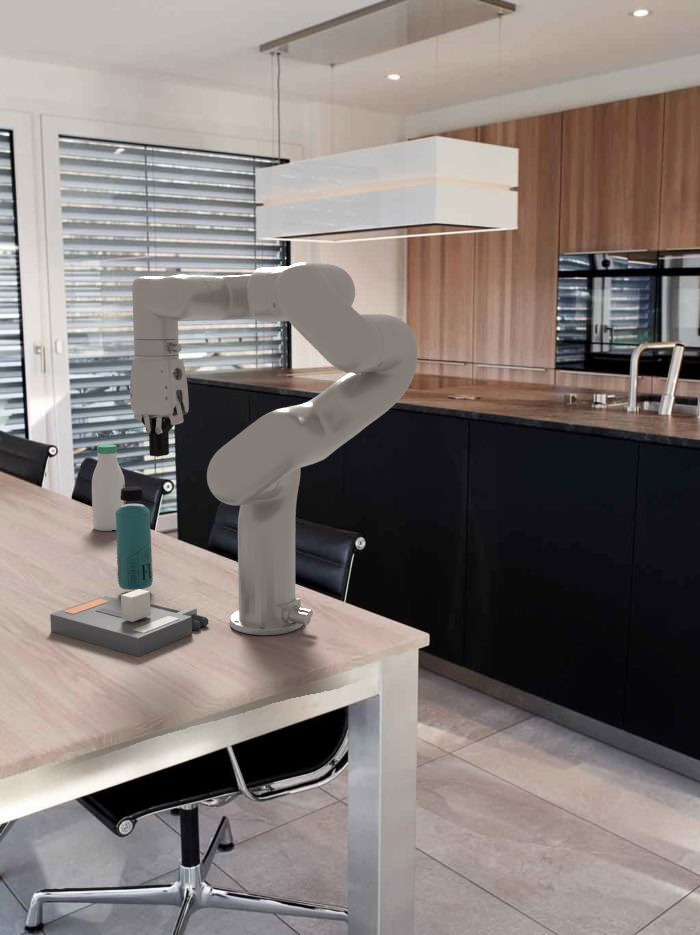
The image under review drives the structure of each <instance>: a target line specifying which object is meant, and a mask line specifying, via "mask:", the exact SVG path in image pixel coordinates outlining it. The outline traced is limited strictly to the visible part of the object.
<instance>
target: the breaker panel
mask: <svg viewBox="0 0 700 935" xmlns="http://www.w3.org/2000/svg"><path fill="white" fill-rule="evenodd" d="M150 611H151V615H150V616H147V617H144V618H142V619H139V620H136V621H134V622H131V621H127V620H123V619H122V609H121V598H116V597H114V596H110V595H109V596H108V595H103V596H101V597H98V598H94V599H91V600H87V601H86V602H83V603H79V604H76V605H73V606H71V607H68V608H65V609H61V610H58V611H56V612H52V613H50V614H49V617H50V618H49V620H50V632H51V633H55V634H57V635H62V636H65V637H69V638H72V639H76V640H79V641H81V642H82V641H83V642H86V643H90V644H93V645H95V646H96V645H97V646H99V647H104V648H106V649H110V650H114V651H118V652H120V653H121V652H122V653H124V654H127V655H128V654H129V655H131V656H135V657H139V658H140V657H141V655H142V656H144V655H146V654H149V653H151V652H153V651H155V650H156V651H157V650H159V649H160V648H162V647H165V646H168V645H169V644H173V643H175V642H176V641H180V640H181V639H184V638H187V637H190V636H191V635H193V629H192V617H191V616H187V615H183V614H179V613H174V612H170V611H166V610H162V609H158V608H154V607H150Z"/></svg>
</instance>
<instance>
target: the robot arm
mask: <svg viewBox="0 0 700 935" xmlns="http://www.w3.org/2000/svg"><path fill="white" fill-rule="evenodd" d="M131 292H132V293H131V294H132V322H133V326H132V327H133V352H134V353H133V355H134V357H132V362H131V369H130V376H129V377H130V379H129V383H130V384H129V402H130V403H129V404H130V407H131V408H130V409H131V410H132V413H133V419H135V420H136V421H138V422H140V423H142V424H143V426H144V427H145V432H146V433H147V434H148V440H149V444H148V445H149V446H148V447H149V448H148V449H149V456H150V457H164V456H168V455H169V454H170V442H169V441H170V440H169V439H170V434H169V433H171V432H172V431H173V430H172V429H173V427H174V426H175V425H179V424H182V423H184V415H187V414H188V412H189V409H190V407H189V406H190V405H189V390H188V389H189V388H188V379H187V373H186V367H185V363H184V361H183V360H184V359H183V358H181V357H180V353H179V352H181V351H182V345H181V344H180V343H179V322H197V321H199V322H201V321H228V320H229V321H230V320H231V321H232V320H233V321H234V320H257V321H258V322H261V323H266V322H267V323H270V322H289V323H290V325H292V326H293V328H294V329H295V330H296V331H297V332H298V333H299V334H300V335H301V336H302V337H303V338H304V339H305V340H306V341H307V342H308V343H309V344H310V345H311V346H312V347H313V348H314V349H315V350H316V351H317V352H318V353H319V354H320V355H321V356H322V357H323V358H324V359H325V361H327V362H328V363H329V364H330V365H332V366H333V367H334V368H335V369H338V370H340V371H342V372H344V373H347V374H345V375H343V376H342V377H340V378H339V379H337V380H336V381H334V382H333V383H332V384H330V385H329V386H328V387H327V388H326V389H325V390H323V391H321V393H319V394H317V395H316V396H315V397H313V398H312V399H310V400H308V401H307V402H303V403H301V404H297V405H290V406H287V407H281V408H276V409H275V410H272V411H270V412H267V413H266V414H264V415H262V416H261V417H258V419H256V420H255V421H254V422H252V423H251V424H249V425H248V426H247V427H246V428H245V429H243V430H242V431H240V433H238V434H237V435H236V436H235V437H233V438H232V439H230V441H228V442H227V443H226V444H224V445H223V446H221V447H220V449H218V450H217V451H216V452H215V453H214V455H213V456H212V458H211V459H210V461H209V464H208V467H207V470H206V471H207V472H206V482H207V486H208V488H209V490H210V492H211V493H212V495H213V496H214V497H215V499H217V500H218V501H220V502H222V503H223V504H226V505H230V506H239V511H238V518H237V558H238V559H237V564H238V566H237V567H238V568H237V570H238V571H237V572H238V576H237V577H238V610H236V611H235V612H233V613H232V614H231V615H230V617H229V625H230V626H231V628H232V629H234V630H235V631H236V632H240V633H242V634H247V635H254V636H255V635H256V636H277V635H283V634H287V633H291V632H294V631H296V630H298V629H300V628H301V627H303V626H308V625H309V624H310V622H311V619H312V617H313V610H312V609H310V608H303V607H302V605H301V601H302V600H301V597H296V512H297V511H296V510H297V500H298V492H299V486H300V482H301V480H300V479H301V468H304V467H307V466H310V465H313V464H316V463H319V462H321V461H323V460H325V459H327V458H329V456H330V455H332V454H333V453H334V452H335V451H337V449H339V448H340V447H342V446H343V445H344V444H346V443H347V442H348V441H350V440H351V439H353V438H354V437H355V436H356V435H358V434H359V433H361V431H363V430H364V429H365V428H366V427H368V426H369V425H370V424H373V422H374V421H376V420H378V419H379V418H380V417H381V416H383V415H385V413H386V412H388V411H389V410H390V409H391V408H392V407H393V406H395V405H396V404H397V402H399V401H400V399H401V398H403V396H404V395H405V393H406V392H407V390H408V389H409V387H410V386H411V383H412V381H413V379H414V376H415V373H416V370H417V364H418V353H419V352H418V344H417V340H416V339H417V338H416V337H415V334H414V332H413V330H412V328H411V327H410V326H409V325H408V324H407V323H406V322H405V321H404V320H402V319H401V318H399V317H396V316H393V315H388V314H383V313H376V314H375V313H374V314H373V313H371V314H365V313H364V314H361V313H359V312H358V311H357V310H355V308H354V307H352V306H353V304H354V301H355V298H356V286H355V283H354V280H353V278H352V277H351V275H350V274H349V273H348V272H347V271H346V270H345V269H343V268H341V267H340V266H338V265H334V264H330V263H329V264H328V263H315V262H297V263H294V264H292V265H291V264H290V265H289V266H272V267H270V266H269V267H259V268H256V269H255V270H254V271H253V272H252V273H251V274H241V275H240V274H239V275H201V274H199V275H197V274H196V275H195V274H191V275H190V274H176V275H169V276H138V277H137V278H134V280H133V282H132V291H131Z"/></svg>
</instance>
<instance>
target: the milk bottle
mask: <svg viewBox="0 0 700 935" xmlns="http://www.w3.org/2000/svg"><path fill="white" fill-rule="evenodd" d="M96 452H97V456H98V457H97V458H98V459H97V463H96V466H95V468H94V470H93V474H92V478H91V504H92V506H91V507H92V525H93V529H94V530H95V531H101V532H113V531H112V530H115V531H116V515H115V513H116V511H117V510H118V509H119V508H120V507H121V506H122V505H126V504H127V503H126V502H127V501H123V500H121V499H120V496H121V489H122V488H125V487H126V483H125V475H124V474H123V471H122V469H121V466H120V465H119V463H118V462H119V461H118V458H117V455H118V447H117V445H116V444H109V443H108V444H100V445H97V447H96Z"/></svg>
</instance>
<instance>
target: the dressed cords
mask: <svg viewBox="0 0 700 935" xmlns="http://www.w3.org/2000/svg"><path fill="white" fill-rule="evenodd" d="M150 607H154V608H158V609H162V610H166V611H170V612H174V613H179V614H183V615H187V616H191V617H192V631H197V630H199V629H200V628H201V627H204V628H205V627H206V626H208V624H209V619H208V618H207V617H205V616H202V615H198V608H196V607H194V606H191V607H188V608H185V609H183V610H179V609H177V610H176V609H173V608H169V607H166V606H161V605H157V604H153V603H150Z"/></svg>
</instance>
